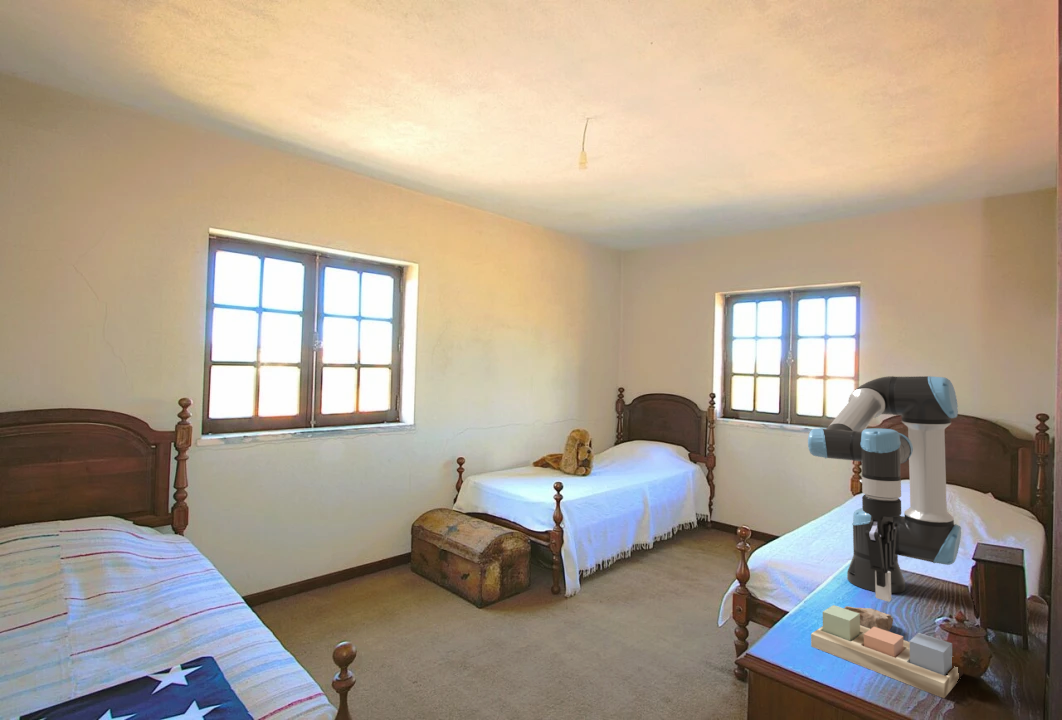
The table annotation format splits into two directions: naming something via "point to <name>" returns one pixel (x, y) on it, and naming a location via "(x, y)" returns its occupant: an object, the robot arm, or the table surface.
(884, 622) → the stone
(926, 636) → the slate block
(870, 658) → the socket board
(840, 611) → the sage block
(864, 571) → the robot arm
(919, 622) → the table surface
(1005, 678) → the table surface
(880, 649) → the terracotta block
